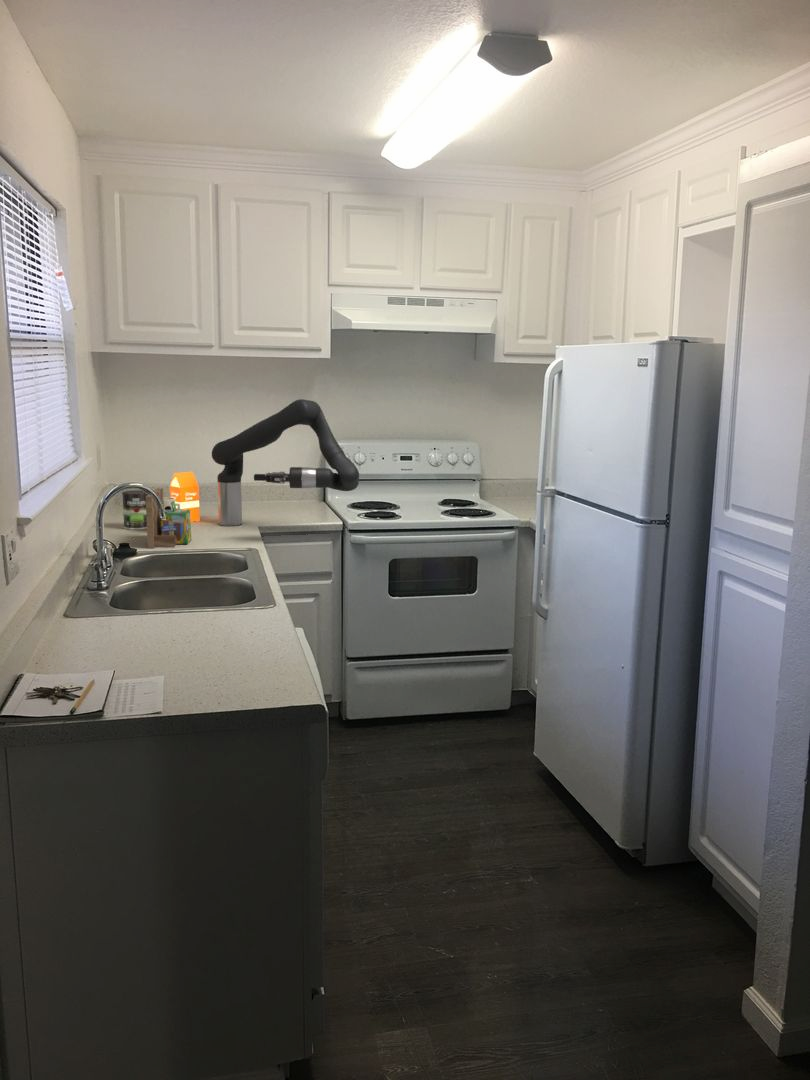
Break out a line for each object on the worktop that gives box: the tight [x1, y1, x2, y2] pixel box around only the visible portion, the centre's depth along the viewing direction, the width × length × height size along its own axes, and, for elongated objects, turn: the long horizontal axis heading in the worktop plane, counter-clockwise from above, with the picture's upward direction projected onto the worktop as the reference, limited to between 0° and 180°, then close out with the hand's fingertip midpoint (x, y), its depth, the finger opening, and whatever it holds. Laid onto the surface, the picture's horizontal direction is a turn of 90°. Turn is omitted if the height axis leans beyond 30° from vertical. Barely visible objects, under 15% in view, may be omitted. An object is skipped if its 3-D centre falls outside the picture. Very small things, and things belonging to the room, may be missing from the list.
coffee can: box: [121, 489, 148, 531], centre depth 337 cm, size 10×10×14 cm
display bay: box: [146, 487, 177, 549], centre depth 308 cm, size 22×9×18 cm, turn 5°
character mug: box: [164, 496, 180, 510], centre depth 327 cm, size 11×7×13 cm, turn 90°
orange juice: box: [169, 471, 200, 523], centre depth 352 cm, size 8×9×20 cm
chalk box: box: [160, 501, 192, 545], centre depth 308 cm, size 9×9×15 cm
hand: (254, 477), depth 308 cm, fingers closed
